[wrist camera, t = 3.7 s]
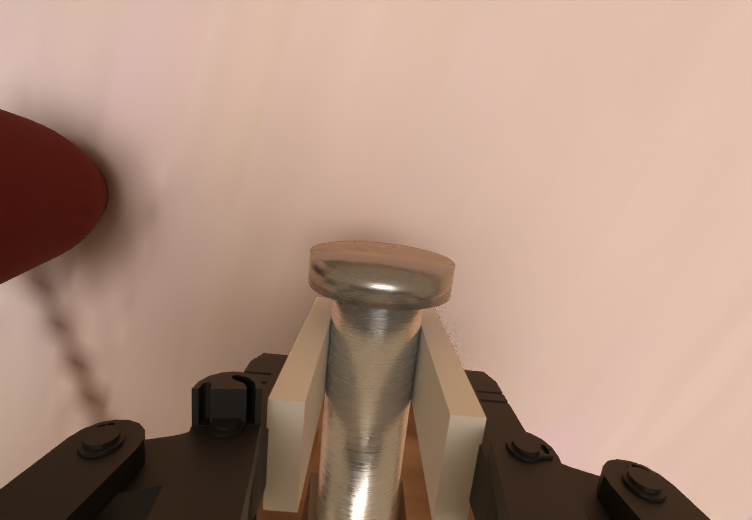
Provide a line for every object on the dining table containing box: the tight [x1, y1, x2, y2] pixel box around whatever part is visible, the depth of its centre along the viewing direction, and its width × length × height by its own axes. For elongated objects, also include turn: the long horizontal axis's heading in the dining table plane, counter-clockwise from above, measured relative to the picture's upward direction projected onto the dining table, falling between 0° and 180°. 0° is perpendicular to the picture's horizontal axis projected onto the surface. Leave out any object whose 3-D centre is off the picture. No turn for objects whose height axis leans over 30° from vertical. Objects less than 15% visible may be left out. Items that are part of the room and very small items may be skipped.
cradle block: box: [257, 393, 475, 520], centre depth 19 cm, size 12×6×10 cm, turn 84°
